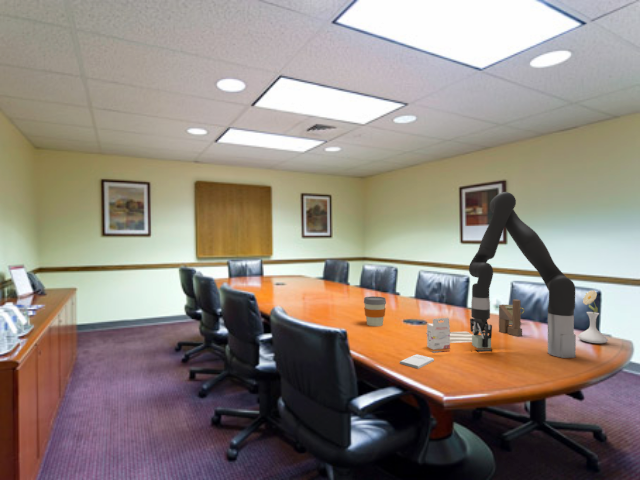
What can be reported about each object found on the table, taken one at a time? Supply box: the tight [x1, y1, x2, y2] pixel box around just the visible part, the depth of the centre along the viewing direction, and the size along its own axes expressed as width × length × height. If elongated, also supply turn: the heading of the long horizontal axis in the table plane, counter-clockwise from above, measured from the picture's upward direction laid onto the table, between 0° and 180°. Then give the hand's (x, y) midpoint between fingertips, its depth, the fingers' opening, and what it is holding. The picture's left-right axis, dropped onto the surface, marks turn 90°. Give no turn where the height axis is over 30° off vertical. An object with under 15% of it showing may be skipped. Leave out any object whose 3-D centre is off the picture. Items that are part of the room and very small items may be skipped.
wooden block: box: [498, 298, 523, 337], centre depth 189 cm, size 4×11×18 cm, turn 28°
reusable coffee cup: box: [363, 296, 387, 327], centre depth 210 cm, size 13×13×15 cm
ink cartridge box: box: [426, 317, 451, 354], centre depth 161 cm, size 9×5×15 cm, turn 105°
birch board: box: [425, 331, 474, 344], centre depth 177 cm, size 18×22×2 cm
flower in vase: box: [578, 289, 609, 344], centre depth 173 cm, size 13×11×25 cm
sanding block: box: [471, 334, 492, 353], centre depth 162 cm, size 5×6×6 cm
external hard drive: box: [399, 354, 435, 370], centre depth 146 cm, size 2×8×12 cm
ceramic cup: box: [503, 304, 525, 326], centre depth 211 cm, size 13×10×10 cm
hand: (480, 344), depth 162 cm, fingers open, 6 cm apart
